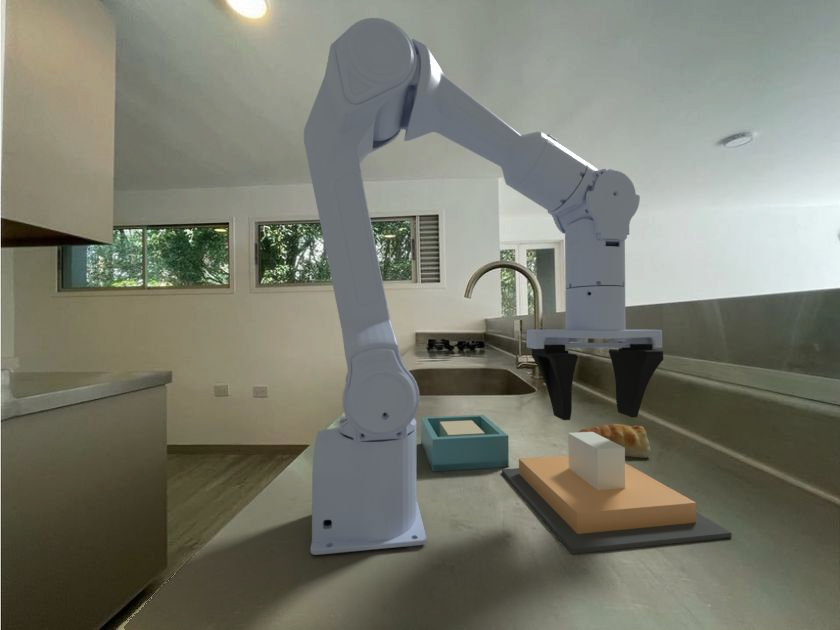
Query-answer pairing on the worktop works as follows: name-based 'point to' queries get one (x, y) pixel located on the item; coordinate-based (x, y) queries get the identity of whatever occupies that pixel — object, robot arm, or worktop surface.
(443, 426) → the box
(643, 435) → the pastry
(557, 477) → the lid
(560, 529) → the mat
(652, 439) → the worktop surface
